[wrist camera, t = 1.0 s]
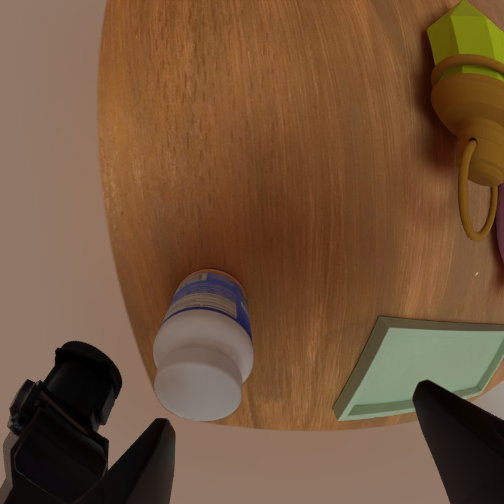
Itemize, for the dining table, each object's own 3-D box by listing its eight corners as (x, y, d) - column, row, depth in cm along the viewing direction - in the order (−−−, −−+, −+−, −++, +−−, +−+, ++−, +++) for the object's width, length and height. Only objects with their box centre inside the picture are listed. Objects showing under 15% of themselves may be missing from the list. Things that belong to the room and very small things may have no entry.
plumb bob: (404, -18, 13) (389, 213, 16) (467, -43, 4) (513, 239, 8) (456, 33, 16) (448, 241, 20) (515, 21, 8) (534, 266, 11)
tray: (332, 407, 25) (337, 421, 23) (378, 315, 22) (389, 327, 20) (474, 387, 28) (480, 394, 27) (509, 324, 25) (517, 330, 23)
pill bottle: (240, 336, 21) (247, 436, 12) (172, 325, 21) (142, 420, 11) (254, 273, 20) (273, 360, 10) (178, 260, 19) (137, 339, 10)
